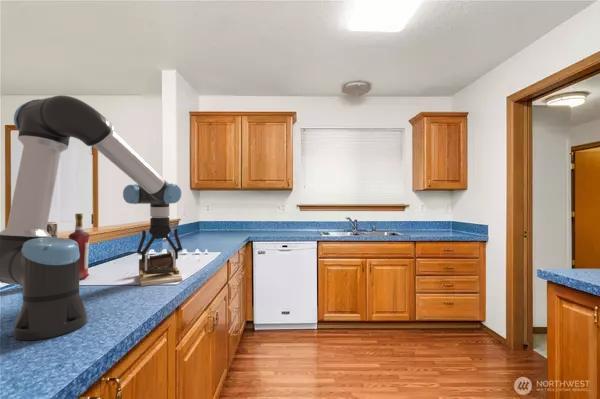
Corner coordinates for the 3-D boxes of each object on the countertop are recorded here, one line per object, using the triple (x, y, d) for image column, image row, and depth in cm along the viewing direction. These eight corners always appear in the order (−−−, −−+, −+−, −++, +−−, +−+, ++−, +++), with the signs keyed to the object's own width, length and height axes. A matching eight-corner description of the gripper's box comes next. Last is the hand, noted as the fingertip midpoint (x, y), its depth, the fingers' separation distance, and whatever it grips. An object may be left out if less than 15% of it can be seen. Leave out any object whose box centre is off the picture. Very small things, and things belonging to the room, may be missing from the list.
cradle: (182, 280, 128) (182, 256, 128) (141, 286, 120) (141, 260, 120) (175, 270, 145) (175, 249, 145) (139, 275, 138) (138, 252, 138)
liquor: (67, 278, 132) (67, 213, 132) (88, 275, 137) (87, 213, 137) (69, 282, 126) (69, 214, 126) (91, 278, 131) (90, 213, 131)
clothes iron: (177, 272, 133) (172, 251, 131) (150, 283, 126) (144, 260, 124) (172, 268, 138) (167, 247, 136) (146, 277, 132) (140, 256, 129)
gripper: (186, 215, 141) (186, 263, 141) (129, 217, 130) (129, 269, 130) (189, 216, 134) (189, 267, 134) (129, 218, 123) (130, 273, 123)
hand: (160, 268), depth 132 cm, fingers closed on clothes iron, 10 cm apart
